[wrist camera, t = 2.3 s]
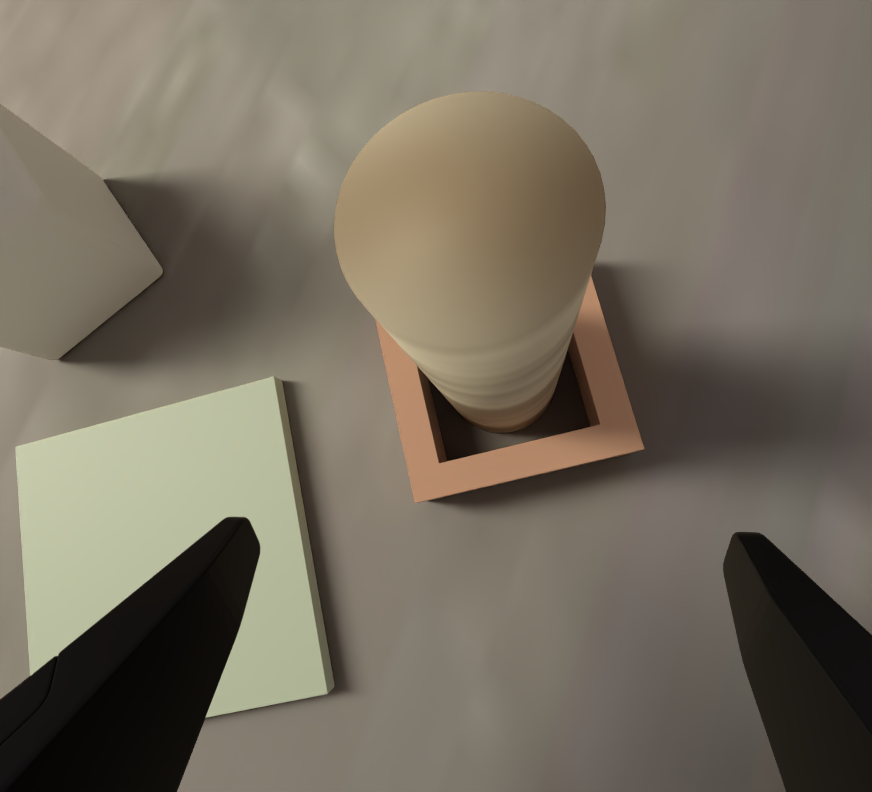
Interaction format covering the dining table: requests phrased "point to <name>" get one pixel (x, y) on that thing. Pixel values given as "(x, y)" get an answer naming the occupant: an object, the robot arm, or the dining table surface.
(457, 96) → the beige ribbed peg
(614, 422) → the terracotta socket
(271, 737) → the dining table surface
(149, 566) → the sage board
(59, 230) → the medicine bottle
